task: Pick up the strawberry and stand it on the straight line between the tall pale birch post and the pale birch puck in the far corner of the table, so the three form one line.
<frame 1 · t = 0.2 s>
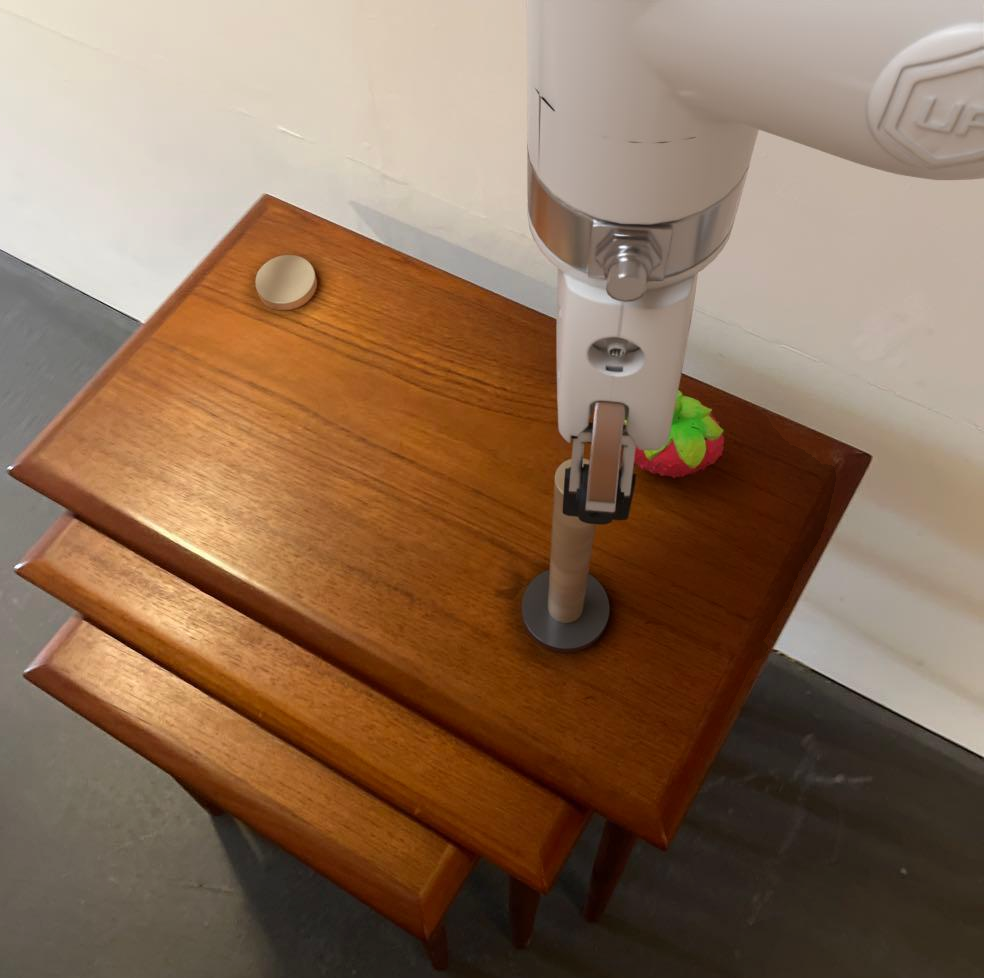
hand: (601, 427, 50), 20 cm above the table, tool pointing down, fingers open, 9 cm apart
strawberry: (661, 469, 72), on the table
post: (564, 611, 67), on the table
puck: (287, 286, 81), on the table
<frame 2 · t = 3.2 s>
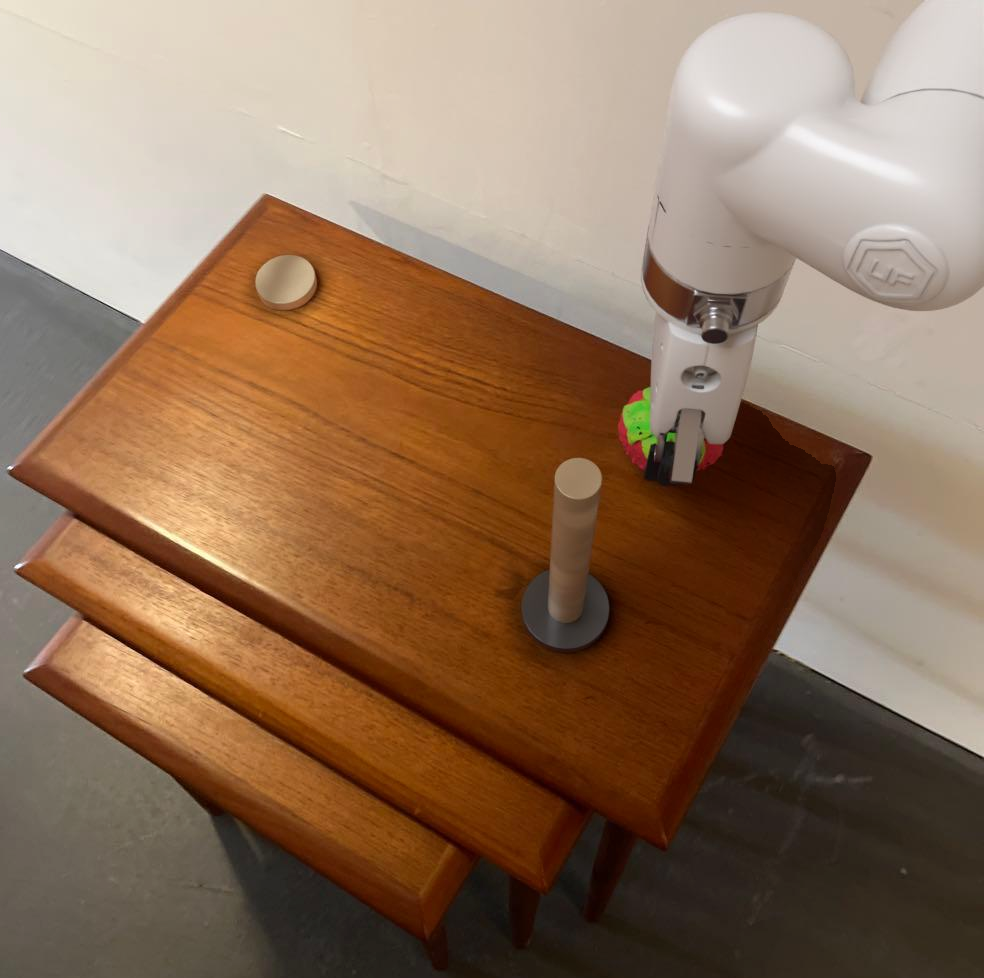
hand: (670, 433, 67), 5 cm above the table, tool pointing down, fingers closed on strawberry, 6 cm apart
strawberry: (661, 468, 72), on the table, touching gripper
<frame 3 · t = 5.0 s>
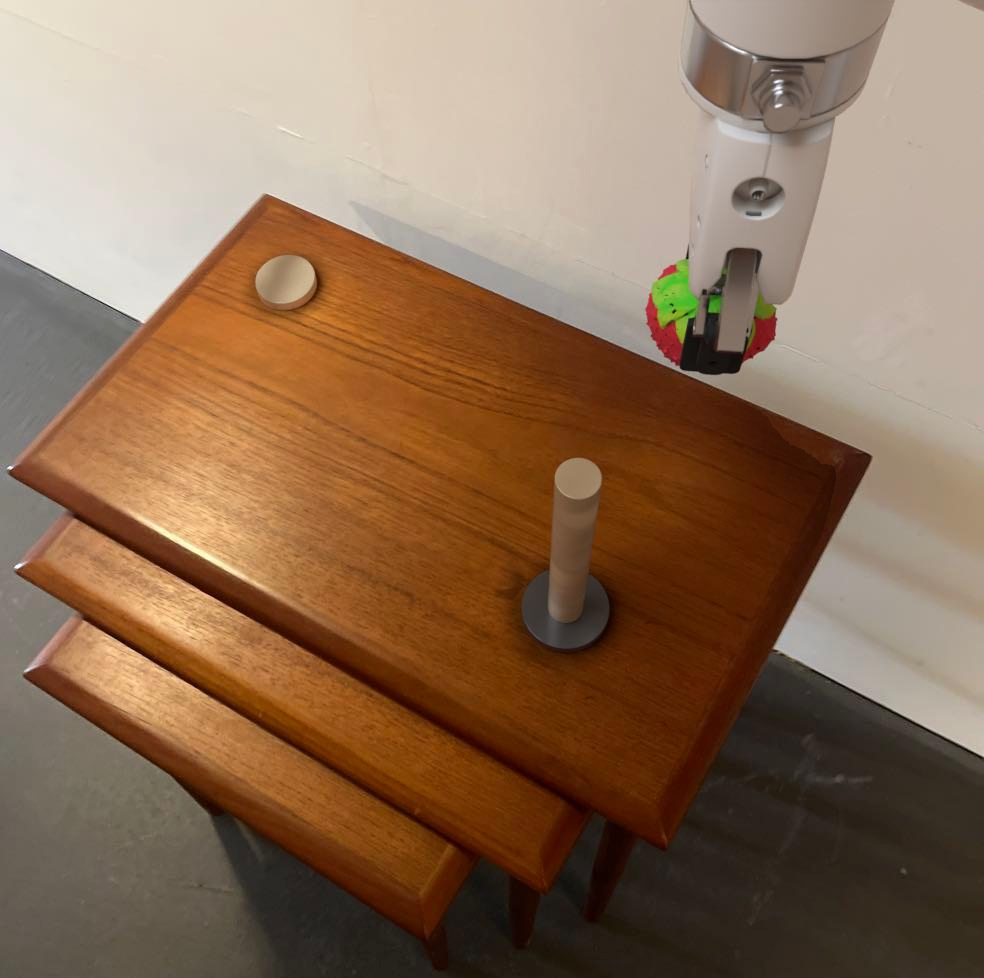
hand: (711, 315, 55), 18 cm above the table, tool pointing down, fingers closed on strawberry, 6 cm apart
strawberry: (698, 368, 59), point 13 cm above the table, touching gripper
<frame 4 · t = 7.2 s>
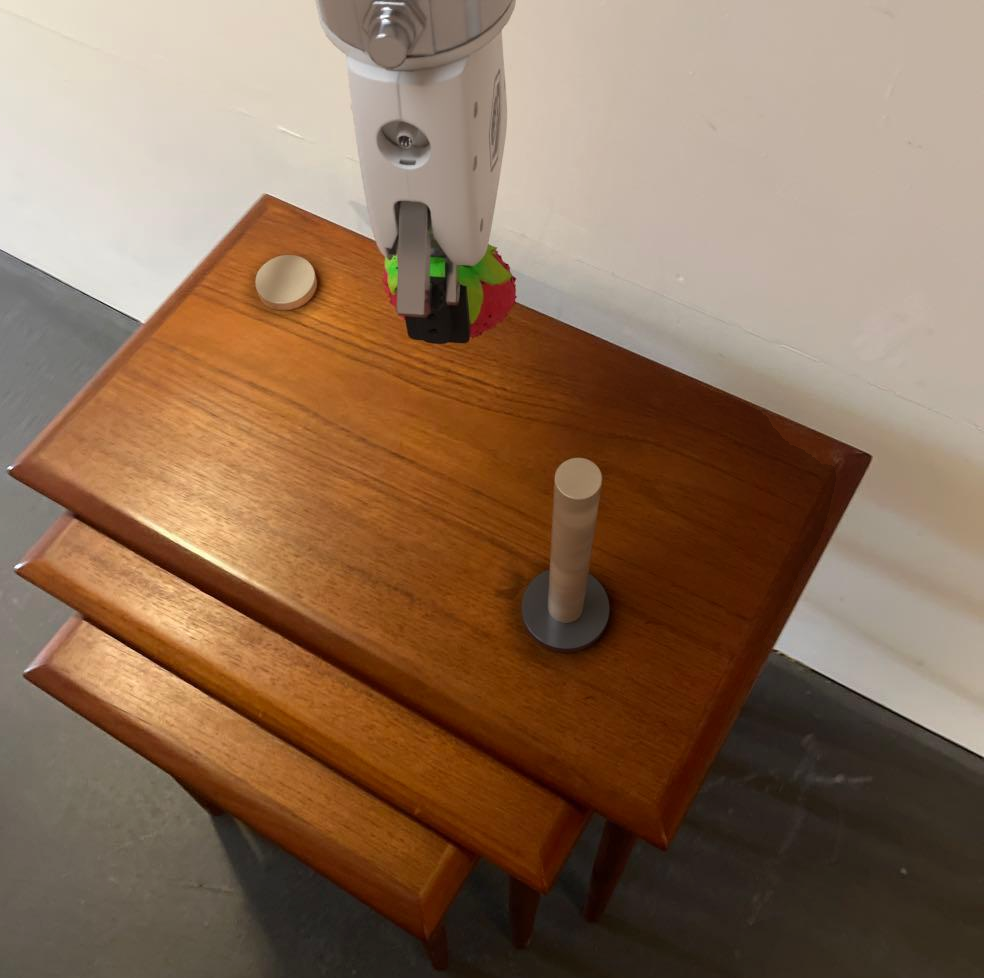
hand: (449, 281, 52), 23 cm above the table, tool pointing down, fingers closed on strawberry, 6 cm apart
strawberry: (456, 339, 56), point 18 cm above the table, touching gripper
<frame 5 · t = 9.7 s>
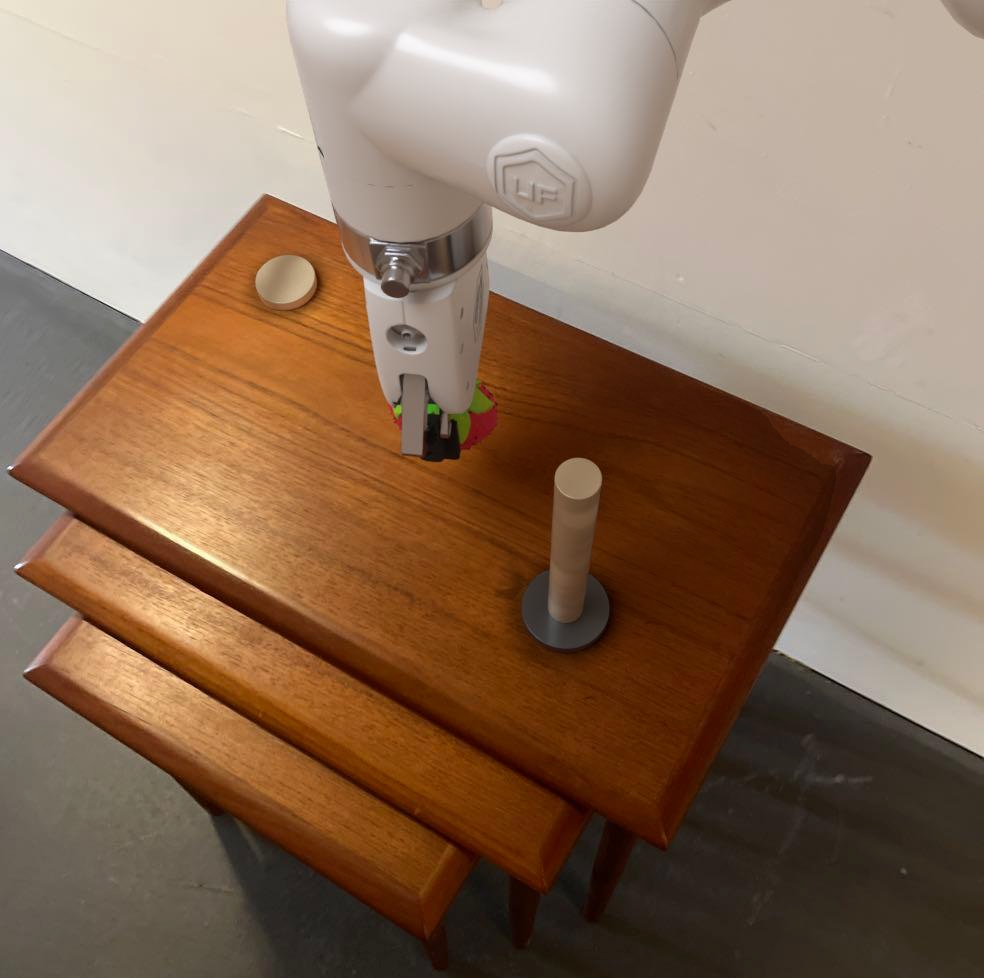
hand: (443, 406, 63), 11 cm above the table, tool pointing down, fingers closed on strawberry, 6 cm apart
strawberry: (449, 445, 68), point 5 cm above the table, touching gripper
when the fingers open (5 cm above the table, at t = 11.5 s): strawberry stays where it is, on the table.
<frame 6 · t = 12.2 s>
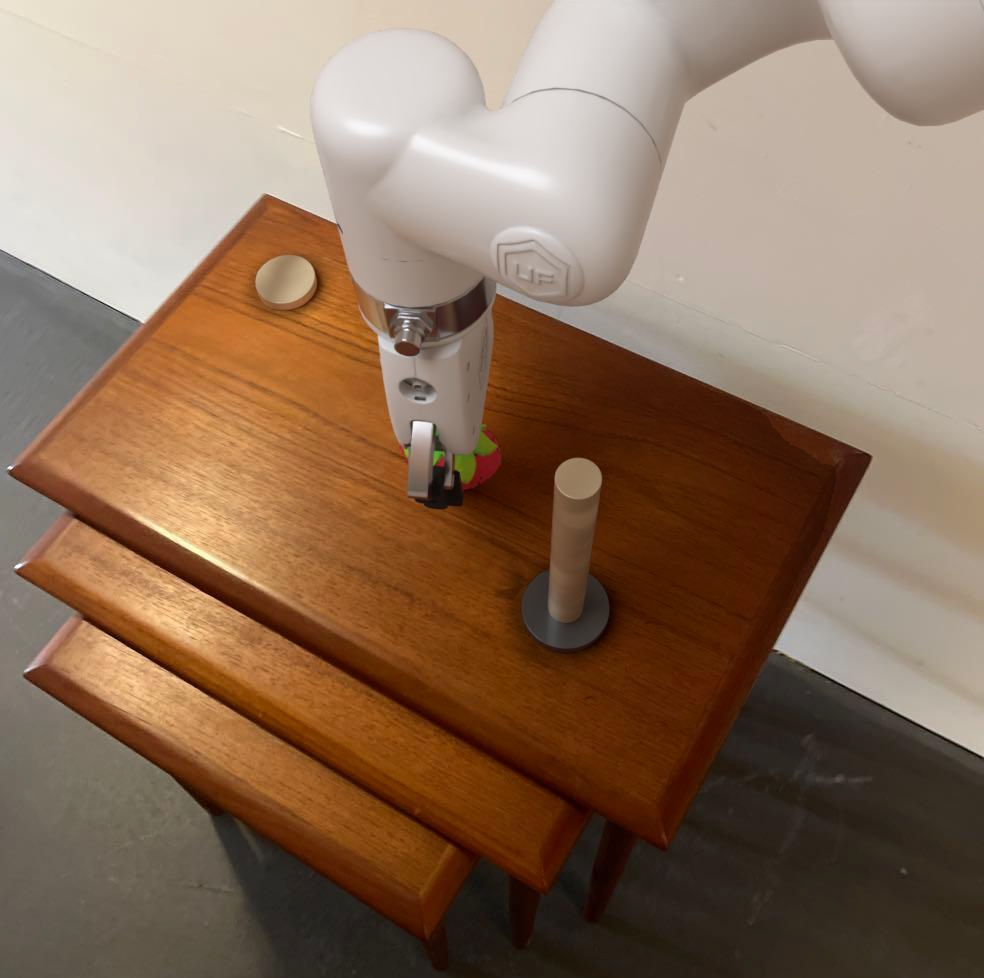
hand: (450, 437, 66), 7 cm above the table, tool pointing down, fingers open, 9 cm apart
strawberry: (455, 482, 73), on the table
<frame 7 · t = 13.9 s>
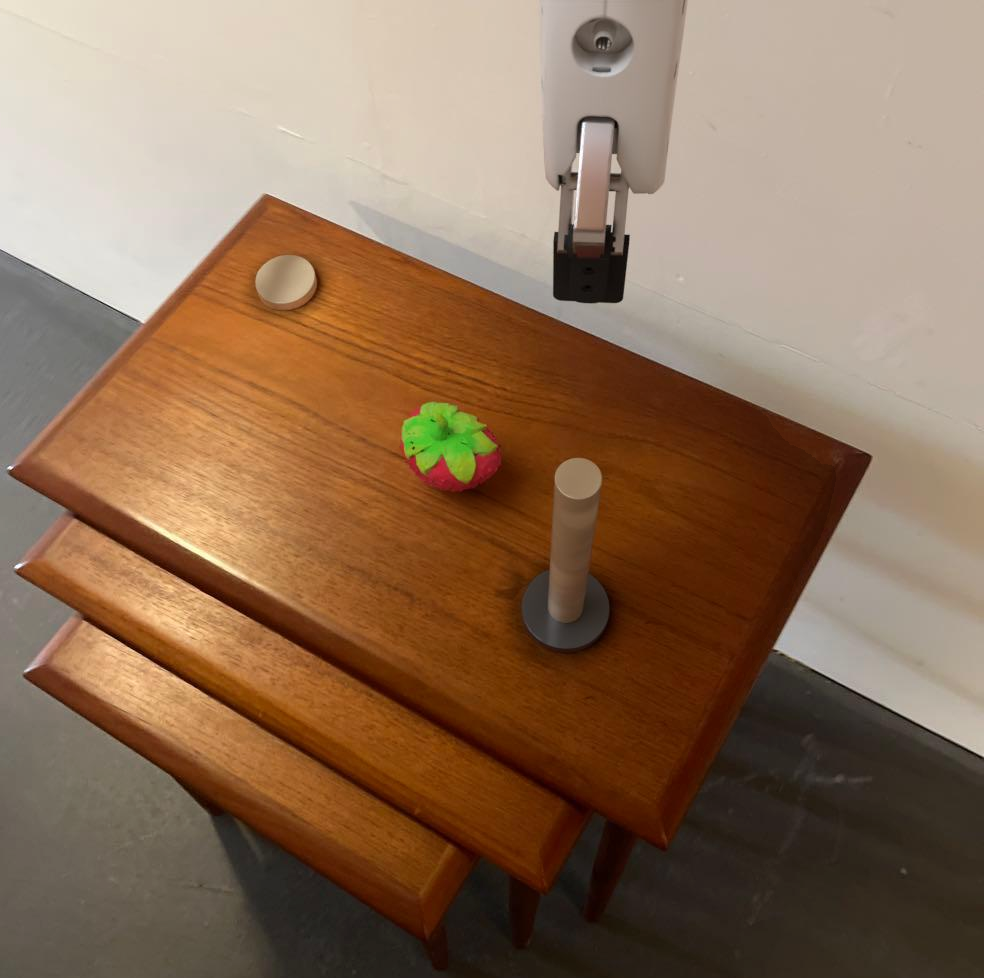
hand: (595, 215, 47), 27 cm above the table, tool pointing down, fingers open, 9 cm apart
nothing on the table moved.
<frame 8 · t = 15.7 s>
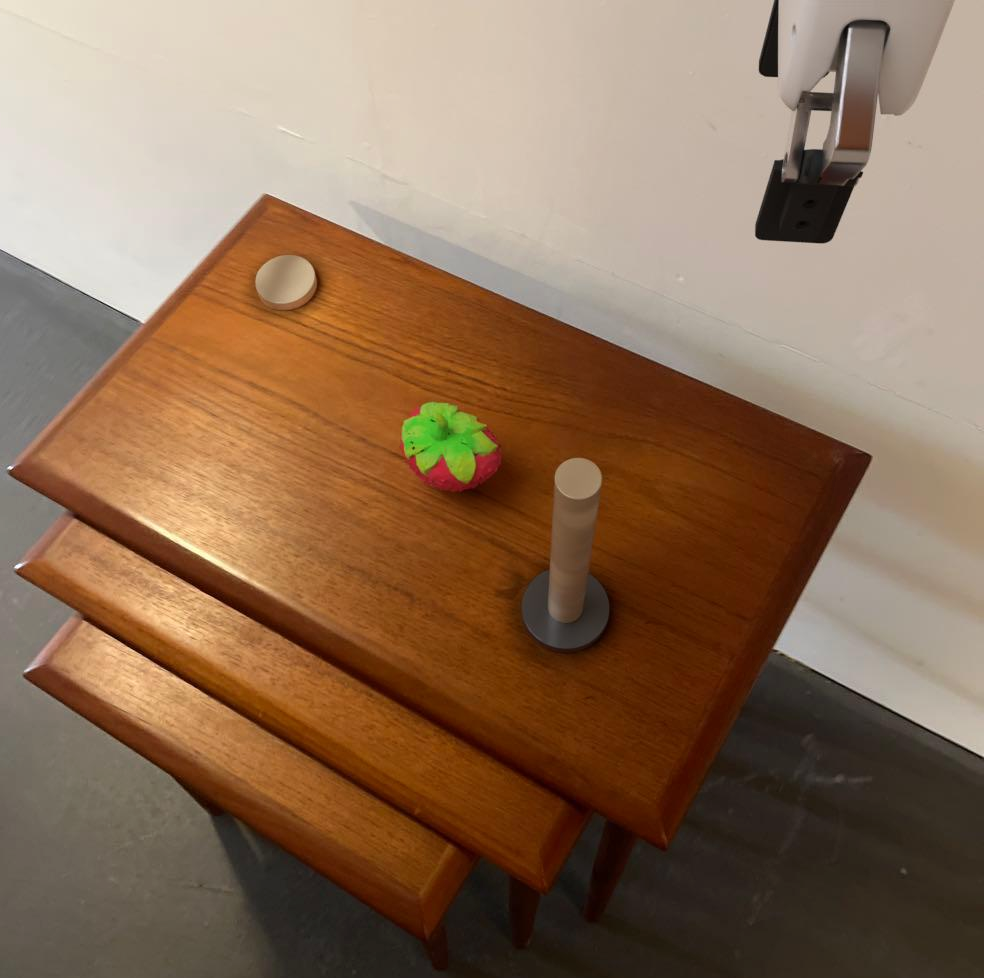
hand: (791, 151, 44), 30 cm above the table, tool pointing down, fingers open, 9 cm apart
nothing on the table moved.
at the end: strawberry 0.1 cm from the target spot on the table beside the post, on the table; strawberry 23.5 cm from the puck (horizontally); strawberry tilted 0° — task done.
